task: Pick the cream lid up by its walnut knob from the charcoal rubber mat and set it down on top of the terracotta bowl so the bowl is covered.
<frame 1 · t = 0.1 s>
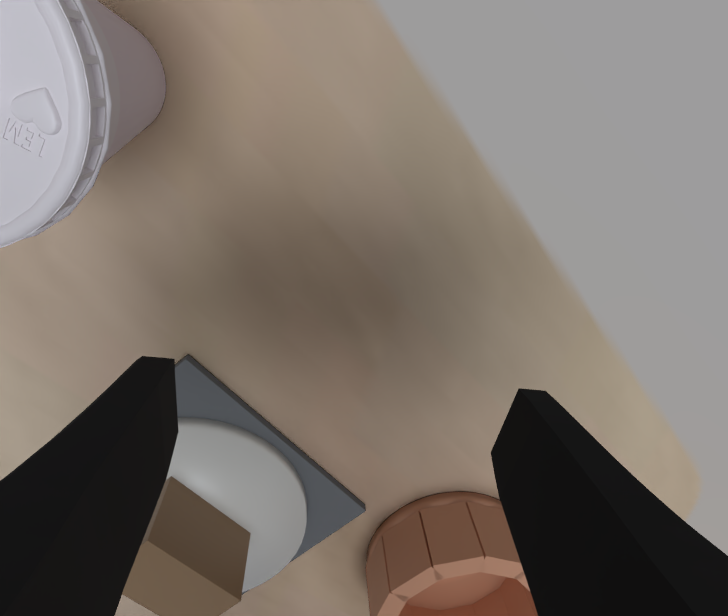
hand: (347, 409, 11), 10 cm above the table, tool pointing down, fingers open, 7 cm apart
smoothie: (111, 77, 17), on the table
mat: (195, 503, 25), on the table
lid: (194, 509, 25), resting on mat
bowl: (447, 553, 28), on the table
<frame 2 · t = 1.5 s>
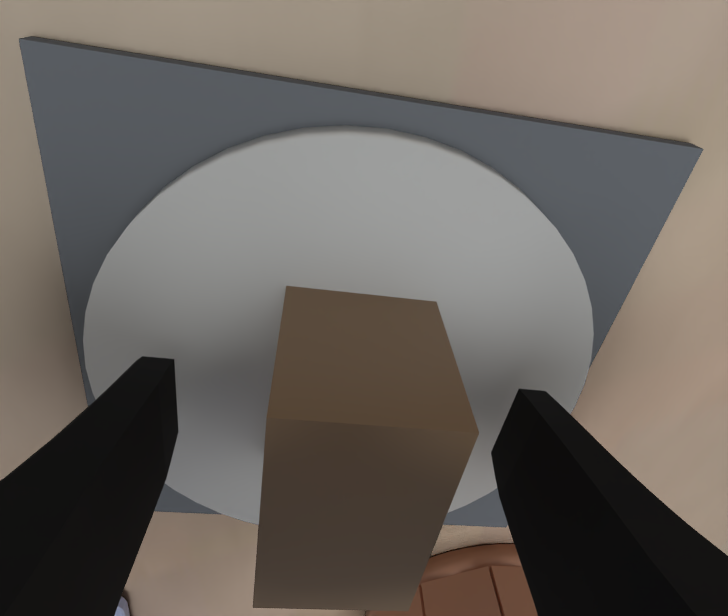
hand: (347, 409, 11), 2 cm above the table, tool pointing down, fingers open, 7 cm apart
mat: (344, 355, 12), on the table
lid: (344, 365, 12), resting on mat
bowl: (479, 610, 20), on the table
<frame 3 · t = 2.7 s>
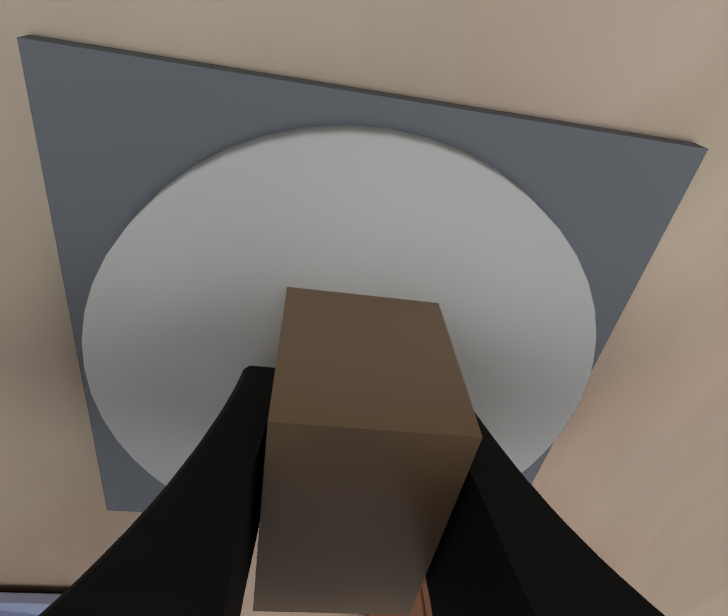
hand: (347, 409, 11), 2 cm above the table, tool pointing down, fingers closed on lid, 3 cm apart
mat: (345, 356, 12), on the table
lid: (345, 366, 12), resting on mat, touching gripper
bowl: (480, 611, 19), on the table
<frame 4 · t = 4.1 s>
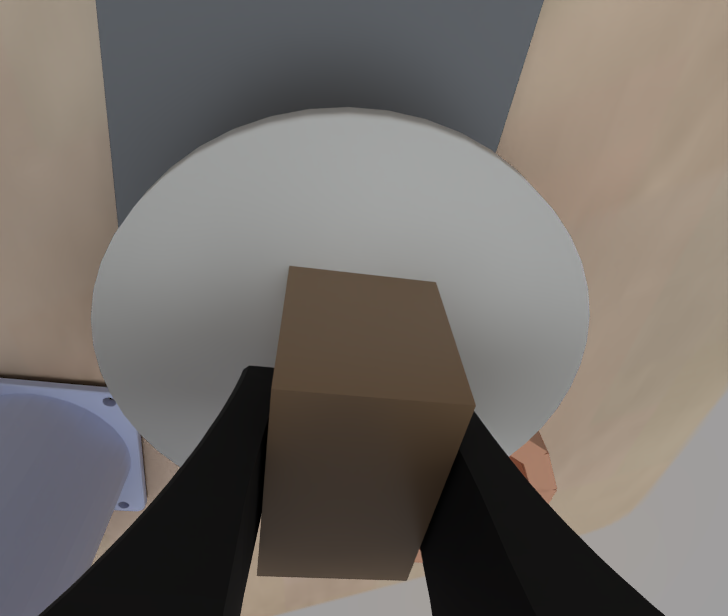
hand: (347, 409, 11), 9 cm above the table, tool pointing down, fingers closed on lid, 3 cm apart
mat: (307, 151, 16), on the table
lid: (346, 345, 12), point 7 cm above the table, touching gripper
bowl: (427, 427, 24), on the table
when the fingers open (6 cm above the table, at t = 5.9 s): lid stays where it is, resting on bowl.
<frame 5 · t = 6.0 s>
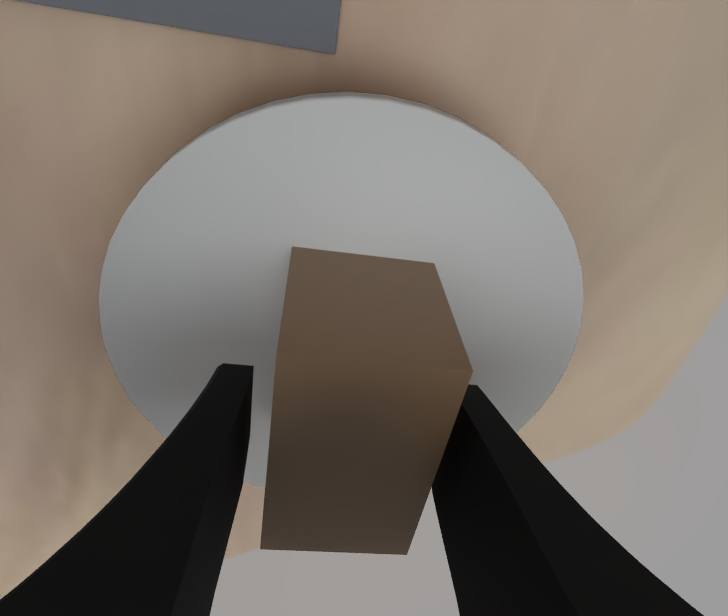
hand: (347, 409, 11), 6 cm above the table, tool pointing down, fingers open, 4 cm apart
lid: (346, 329, 12), point 4 cm above the table, touching bowl
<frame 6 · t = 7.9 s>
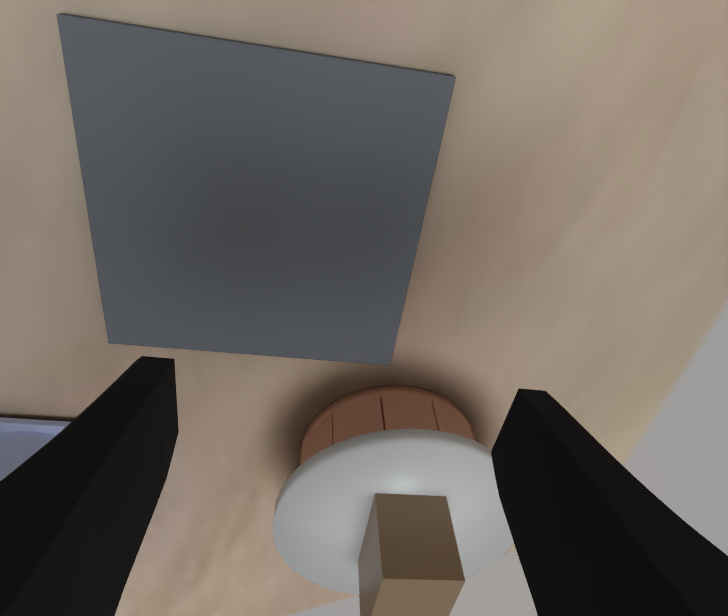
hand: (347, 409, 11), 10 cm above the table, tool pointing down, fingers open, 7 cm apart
mat: (260, 223, 19), on the table
lid: (397, 514, 23), point 4 cm above the table, touching bowl
bowl: (387, 450, 26), on the table
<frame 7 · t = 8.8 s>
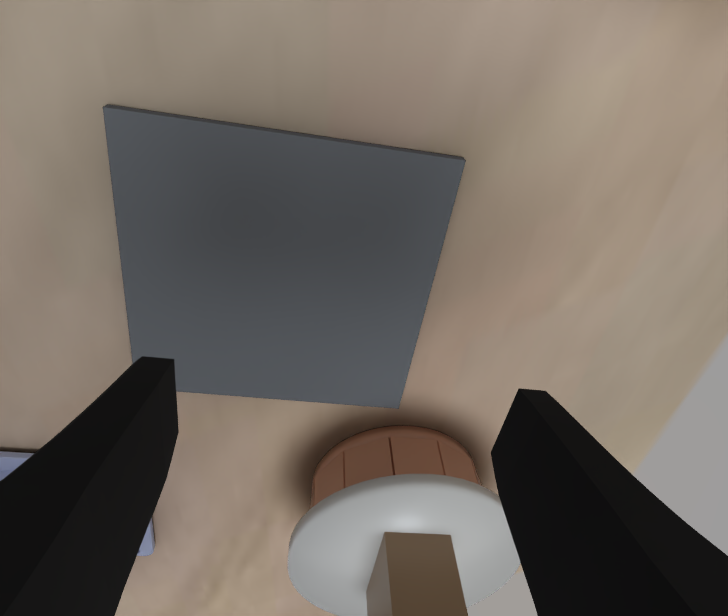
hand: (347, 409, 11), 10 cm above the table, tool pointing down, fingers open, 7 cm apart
mat: (281, 283, 20), on the table
lid: (404, 548, 24), point 4 cm above the table, touching bowl
bowl: (394, 483, 28), on the table
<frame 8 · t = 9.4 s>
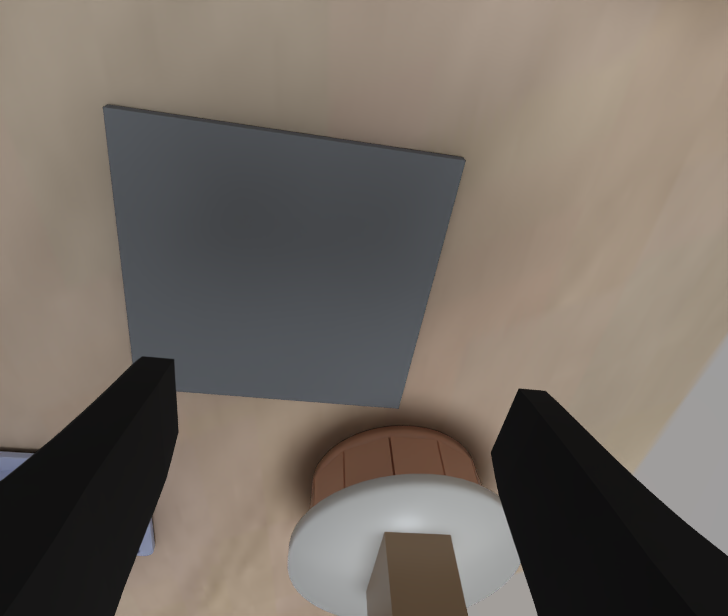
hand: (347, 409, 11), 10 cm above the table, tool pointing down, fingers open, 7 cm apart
mat: (281, 283, 20), on the table
lid: (404, 548, 24), point 4 cm above the table, touching bowl
bowl: (394, 483, 28), on the table
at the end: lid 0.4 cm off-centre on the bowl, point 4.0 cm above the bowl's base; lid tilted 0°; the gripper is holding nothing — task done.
